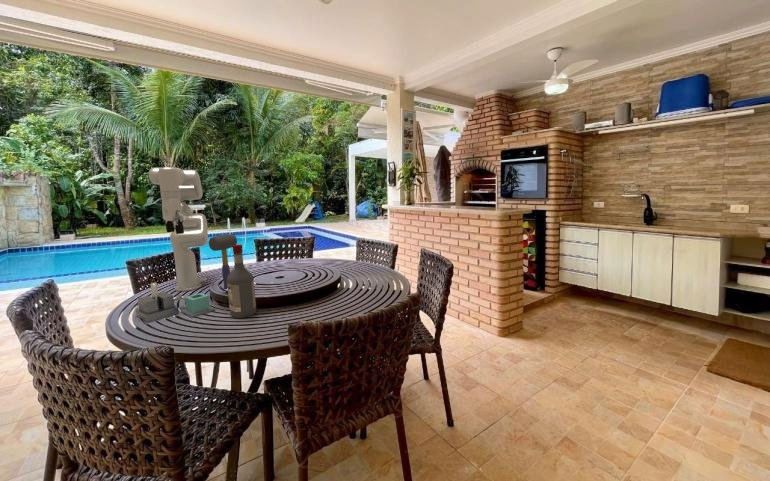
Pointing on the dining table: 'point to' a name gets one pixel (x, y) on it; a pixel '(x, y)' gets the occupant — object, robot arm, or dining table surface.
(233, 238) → the rubber mallet
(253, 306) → the liquor
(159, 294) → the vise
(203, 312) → the mat
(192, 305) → the collar
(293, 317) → the dining table surface
